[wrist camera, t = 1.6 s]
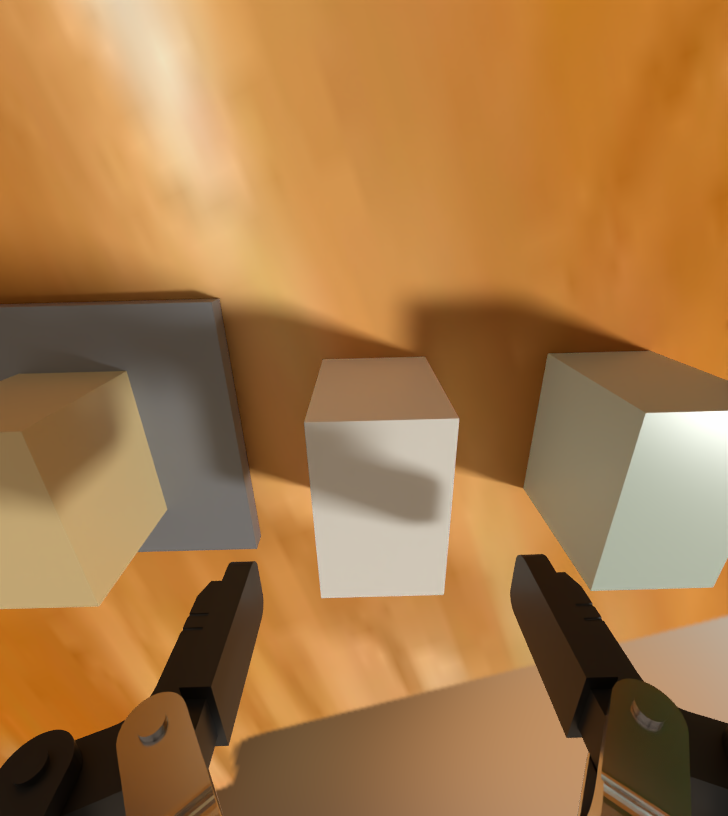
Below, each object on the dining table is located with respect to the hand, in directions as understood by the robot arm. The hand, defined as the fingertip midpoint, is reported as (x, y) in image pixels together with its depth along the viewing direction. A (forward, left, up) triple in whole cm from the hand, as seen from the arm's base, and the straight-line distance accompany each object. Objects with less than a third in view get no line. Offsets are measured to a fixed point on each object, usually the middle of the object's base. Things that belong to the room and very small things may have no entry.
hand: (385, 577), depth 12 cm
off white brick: (0, 0, -9) cm, 9 cm away
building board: (0, -14, -9) cm, 17 cm away
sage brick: (0, +11, -9) cm, 14 cm away
